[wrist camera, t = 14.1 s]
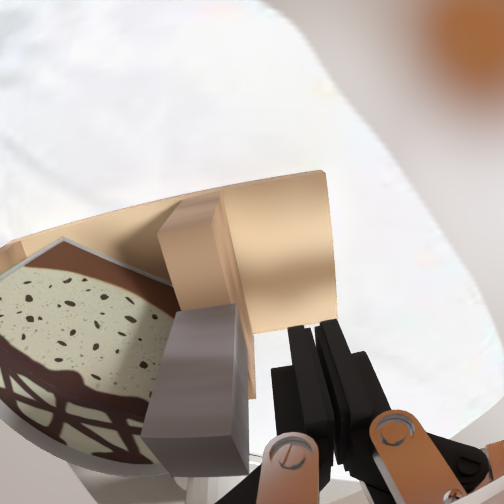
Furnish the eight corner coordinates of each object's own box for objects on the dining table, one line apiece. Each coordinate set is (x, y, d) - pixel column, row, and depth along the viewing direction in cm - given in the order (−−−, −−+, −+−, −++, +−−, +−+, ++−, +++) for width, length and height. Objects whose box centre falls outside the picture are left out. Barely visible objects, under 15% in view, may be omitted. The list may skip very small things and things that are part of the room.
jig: (333, 310, 20) (360, 374, 14) (58, 344, 21) (25, 395, 15) (321, 169, 16) (358, 195, 11) (11, 240, 17) (-42, 279, 12)
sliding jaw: (256, 336, 19) (265, 507, 9) (218, 342, 19) (203, 509, 9) (225, 190, 15) (188, 329, 5) (178, 200, 16) (77, 340, 5)
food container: (38, 304, 18) (-39, 401, 9) (44, 227, 16) (-68, 315, 7) (196, 371, 20) (178, 503, 11) (229, 304, 18) (220, 456, 9)
